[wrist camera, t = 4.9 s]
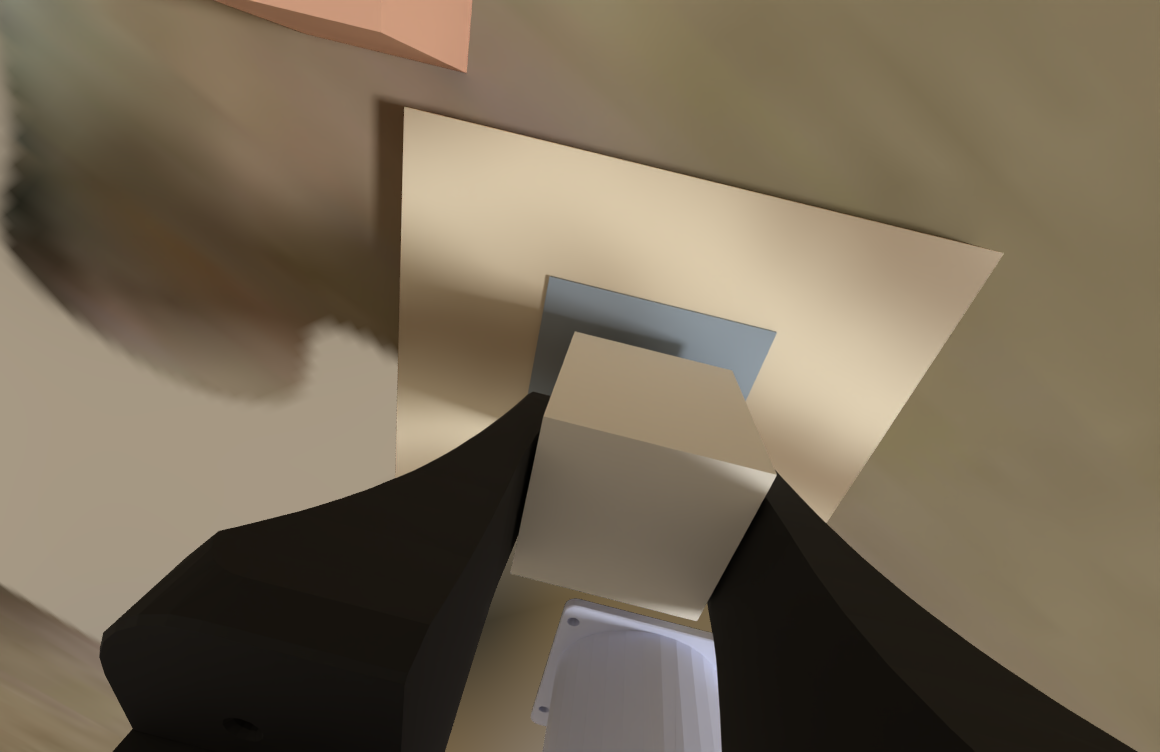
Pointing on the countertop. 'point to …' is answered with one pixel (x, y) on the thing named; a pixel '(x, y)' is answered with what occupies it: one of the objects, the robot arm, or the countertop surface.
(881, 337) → the base board
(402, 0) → the block top
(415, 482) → the robot arm
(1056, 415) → the countertop surface
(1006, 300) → the countertop surface
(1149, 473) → the countertop surface
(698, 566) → the block base
